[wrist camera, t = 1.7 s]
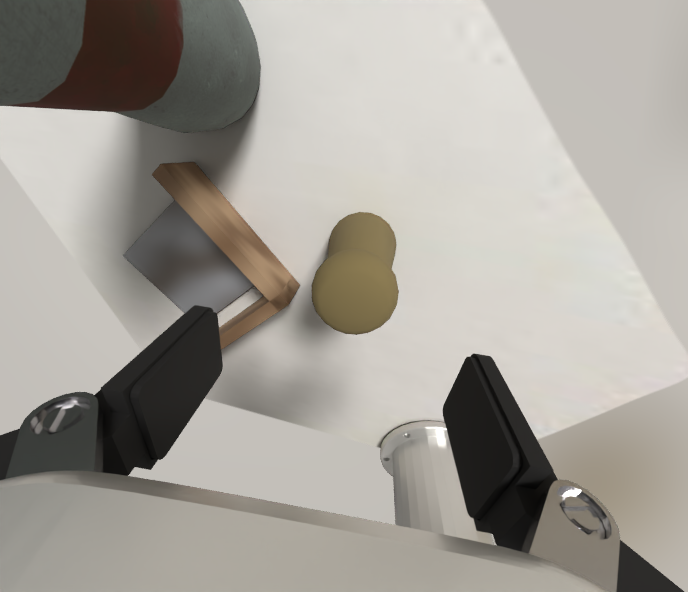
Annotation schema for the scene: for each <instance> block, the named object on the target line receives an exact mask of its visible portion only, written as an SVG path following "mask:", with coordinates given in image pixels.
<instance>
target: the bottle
mask: <svg viewBox="0 0 688 592" xmlns="http://www.w3.org/2000/svg"><path fill="white" fill-rule="evenodd" d="M260 69H261V65H260V59H259V53H258V47H257V42H256V39H255V35H254V33H253V30H252V28H251V25H250V23H249V21H248V18H247V16H246V14H245V11H244V9H243V7H242V5H241V4H240V2H239V1H238V0H0V106H18V107H36V108H54V109H72V110H90V111H108V112H116V113H119V114H122V115H125V116H127V117H130V118H133V119H137V120H140V121H143V122H147V123H150V124H153V125H157V126H160V127H163V128H167V129H171V130H175V131H179V132H183V133H189V132H198V131H207V130H216V129H222V128H224V127H226V126H228V125H230V124H231V123H233V122H235V121H237V120H238V119H240V118H242V117H243V116H244V114H245V113H246V112H247V111H248V109H249V108H250V107H251V106H252V105H253V102H254V99H255V96H256V94H257V91H258V88H259V81H260Z"/></svg>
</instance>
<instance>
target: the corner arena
mask: <svg viewBox="0 0 688 592" xmlns="http://www.w3.org/2000/svg"><path fill="white" fill-rule="evenodd" d="M152 175H153V177H154V178H155V179H156V180H157V181H158V182H159V183H160V184H161V185H162V186H163V187H164V188H165V189H166V191H167V192H168V193H169V194H170V195H171V196H172V197H173V198H174V199H175V200H174V202H173V203H172V204H171V205H170V206H169V207H168V208H167V209H166V210H165V211H164V212H163V213H162V214H161V215H160V216H159V217H158V219H157V220H156V221H155V222H154V223H153V224H152V225H151V226H150V227H149V228H148V229H147V230H146V231H145V232H144V233H143V235H142V236H141V237H140V238H139V239H138V240H137V241H136V242H135V243H134V244H133V245H132V246H131V247H130V248H129V249H128V250H127V252H126V253H125V254H124V255H123V256H124V257H125V258H126V259H127V260H128V261H129V262H130V263H131V264H132V265H133V266H134V267H135V268H136V269H138V270H139V271H140V272H141V273H142V274H143V275H144V276H145V277H146V278H147V279H148V280H149V281H150V282H152V283H153V284H154V285H155V286H156V287H157V288H158V289H159V290H160V291H161V292H162V293H163V294H164V295H166V296H167V297H168V298H169V299H170V300H171V301H172V302H173V303H174V304H175V305H176V306H177V307H179V308H180V309H181V310H182V311H183V312H184V313H186V312H187V311H188V310H189V309H190V308H192V307H193V306H194V305H198V306H204V307H210V308H212V309H213V312H215V313H218V312H219V311H220V310H222V309H223V308H224V307H226V306H227V305H228V304H230V303H231V302H232V301H234V300H235V299H236V298H238V297H239V296H240V295H242V294H243V293H244V292H246V291H247V290H249V289H250V288H251V287H253V286H254V285H255V286H256V288H257V289H258V290H259V291H260V292H261V293H262V294H263V295H264V296H263V297H262V298H261V299H259V300H258V301H256V302H255V303H253V304H252V305H251V306H249V307H248V308H246V309H245V310H244V311H242V312H241V313H239V314H238V315H237V316H235V317H234V318H232V319H231V320H230V321H228V322H227V323H225V324H224V325H223V326H221V327H220V328H219V335H220V345H221V349H223V348H225V347H226V346H228V345H229V344H231V343H232V342H234V341H235V340H237V339H238V338H240V337H241V336H243V335H244V334H246V333H247V332H249V331H250V330H252V329H253V328H255V327H256V326H258V325H259V324H261V323H262V322H264V321H265V320H267V319H268V318H270V317H271V316H273V315H274V314H276V313H277V312H279V311H280V310H282V309H283V308H285V307H286V306H288V305H289V303H290V302H291V300H292V298H293V297H294V295H295V293H296V291H297V290H298V288H299V286H300V284H299V283H298V282H297V281H296V280H295V279H294V277H293V276H292V275H291V274H290V273H289V272H288V270H287V269H286V268H285V267H284V266H283V265H282V264H281V262H280V261H279V260H278V259H277V258H276V257H275V255H274V254H273V253H272V252H271V251H270V250H269V248H268V247H267V246H266V245H265V244H264V243H263V241H262V240H261V239H260V238H259V237H258V236H257V234H256V233H255V232H254V231H253V230H252V229H251V227H250V226H249V225H248V224H247V223H246V222H245V220H244V219H243V218H242V217H241V216H240V215H239V213H238V212H237V211H236V210H235V209H234V208H233V207H232V205H231V204H230V203H229V202H228V201H227V200H226V198H225V197H224V196H223V195H222V194H221V193H220V191H219V190H218V189H217V188H216V187H215V186H214V184H213V183H212V182H211V181H210V180H209V179H208V177H207V176H206V175H205V174H204V173H203V172H202V170H201V169H200V168H199V167H198V166H197V165H196V163H195V162H183V163H164V164H160V165H159V167H158V168H157V169H156V170H155V171H154V173H153V174H152Z"/></svg>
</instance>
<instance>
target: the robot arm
mask: <svg viewBox="0 0 688 592" xmlns="http://www.w3.org/2000/svg"><path fill="white" fill-rule="evenodd" d="M222 367H223V364H222V355H221V345H220V335H219V326H218V316H217V313H215V312H213V309H212V308H210V307H204V306H198V305H194V306H193V307H192V308H190V309H189V310H188V311H187V312H186V313H185V314H184V315H183V316H181V317H180V318H179V319H178V320H177V321H176V322H175V323H174V324H172V325H171V326H170V327H169V328H168V329H167V330H166V331H164V332H163V333H162V334H161V335H160V336H159V337H158V338H157V339H155V340H154V341H153V342H152V343H151V344H150V345H149V346H148V347H146V348H145V349H144V350H143V351H142V352H141V353H140V354H139V355H137V357H135V358H134V359H133V360H132V361H131V362H130V363H128V364H127V365H126V366H125V367H124V368H123V369H122V370H121V371H119V372H118V373H117V374H116V375H115V376H114V377H113V378H111V379H110V380H109V381H108V382H107V383H106V384H105V385H104V386H103V387H101V390H100V391H99V392H98V393H96V394H95V395H93V394H90V393H87V392H75V393H70V394H65V395H62V396H59V397H56V398H53V399H52V400H50V401H48V402H46V403H44V404H42V405H41V406H39V407H38V408H36V409H35V410H33V411H32V412H31V413H30V414H29V415H28V416H27V417H26V418H25V420H24V422H23V424H22V425H21V427H20V429H18V430H14V431H12V432H9V433H6V434H3V435H0V592H684V591H683V590H682V589H680V588H679V587H678V586H677V585H675V584H674V583H673V582H672V581H670V580H669V579H668V578H667V577H665V576H664V575H663V574H662V573H661V572H659V571H658V570H657V569H655V568H654V567H653V566H652V565H650V564H649V563H648V562H647V561H646V560H644V559H643V558H642V557H641V556H639V555H638V554H637V553H636V552H634V551H633V550H632V549H631V548H630V547H628V546H627V545H626V544H625V543H623V542H622V541H621V540H620V534H619V529H618V526H617V524H616V522H615V520H614V518H613V516H612V515H611V514H610V512H609V511H608V509H607V508H606V507H605V506H604V505H603V504H602V503H601V502H600V500H599V499H598V498H596V497H595V496H594V495H593V494H592V493H590V492H589V491H588V490H587V489H585V488H583V487H582V486H580V485H578V484H576V483H574V482H571V481H568V480H558V479H557V477H556V475H555V474H554V472H553V469H552V467H551V465H550V463H549V461H548V460H547V458H546V456H545V454H544V452H543V450H542V449H541V447H540V445H539V443H538V441H537V439H536V437H535V436H534V434H533V432H532V430H531V428H530V426H529V425H528V423H527V421H526V419H525V417H524V415H523V414H522V412H521V410H520V408H519V406H518V404H517V403H516V401H515V399H514V397H513V395H512V393H511V392H510V390H509V388H508V386H507V384H506V382H505V381H504V379H503V377H502V375H501V373H500V371H499V370H498V368H497V366H496V364H495V362H494V360H493V359H492V357H490V356H485V355H479V354H473V355H471V357H467V358H466V359H465V361H464V363H463V365H462V367H461V370H460V372H459V374H458V376H457V378H456V380H455V382H454V384H453V387H452V389H451V391H450V393H449V395H448V397H447V399H446V401H445V404H444V406H443V417H444V421H445V423H443V422H437V421H419V422H414V423H409V424H406V425H403V426H401V427H399V428H397V429H395V430H393V431H392V432H391V433H389V434H388V435H387V436H386V438H385V439H384V440H383V442H382V445H381V452H380V455H381V462H382V465H383V467H384V468H385V469H386V471H387V472H388V473H389V474H390V475H391V476H393V479H394V502H395V523H396V525H392V524H387V523H382V522H377V521H372V520H367V519H362V518H356V517H350V516H346V515H340V514H335V513H330V512H324V511H319V510H314V509H308V508H303V507H298V506H293V505H287V504H282V503H277V502H271V501H266V500H260V499H255V498H250V497H244V496H238V495H233V494H228V493H223V492H217V491H212V490H206V489H201V488H195V487H190V486H184V485H178V484H173V483H167V482H161V481H155V480H148V479H143V478H137V477H130V476H128V475H129V474H130V472H131V471H132V470H133V468H134V467H139V468H144V469H149V470H151V469H152V467H153V466H154V464H155V463H156V462H157V460H158V459H159V460H161V459H163V458H164V457H165V456H166V454H167V453H168V451H169V450H170V448H171V447H172V445H173V444H174V442H175V441H176V439H177V438H178V437H179V435H180V434H181V432H182V430H183V429H184V428H185V426H186V425H187V423H188V422H189V420H190V419H191V417H192V416H193V414H194V413H195V411H196V410H197V408H198V407H199V405H200V404H201V402H202V401H203V399H204V398H205V397H206V395H207V394H208V392H209V391H210V389H211V388H212V386H213V385H214V383H215V382H216V380H217V379H218V377H219V376H220V374H221V372H222ZM491 534H493V536H494V539H495V542H496V544H497V546H496V545H494V542H493V539H492V535H491Z"/></svg>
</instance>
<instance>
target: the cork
mask: <svg viewBox="0 0 688 592" xmlns="http://www.w3.org/2000/svg"><path fill="white" fill-rule="evenodd" d="M395 250H396V240H395V235H394V232H393V230H392V229H391V227H390V225H389V224H388V223H387V222H386V221H385V220H383V219H382V218H381V217H379V216H377V215H374V214H372V213H364V212H358V213H354V214H351V215H348V216H346V217H345V218H343V219H342V220H340V221H339V222H338V224H337V225H336V226H335V227H334V229H333V231H332V234H331V236H330V240H329V250H328V259H326V260H325V261H324V263H323V264H322V265H321V266H320V267H319V269H318V270H317V272H316V274H315V277H314V280H313V283H312V302H313V304H314V307H315V310H316V312H317V313H318V315H319V316H320V317H321V319H322V320H323V321H324V322H325V323H326V324H328V325H329V326H330V327H332V328H333V329H335V330H337V331H340V332H343V333H345V334H356V335H357V334H363V333H368V332H371V331H373V330H375V329H377V328H379V327H381V326H382V325H383V324H384V323H385V322H386V321H387V320H389V319H390V317H391V315H392V313H393V311H394V309H395V307H396V305H397V300H398V293H399V291H398V286H397V281H396V277H395V274H394V273H393V271H392V264H393V260H394V256H395Z"/></svg>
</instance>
